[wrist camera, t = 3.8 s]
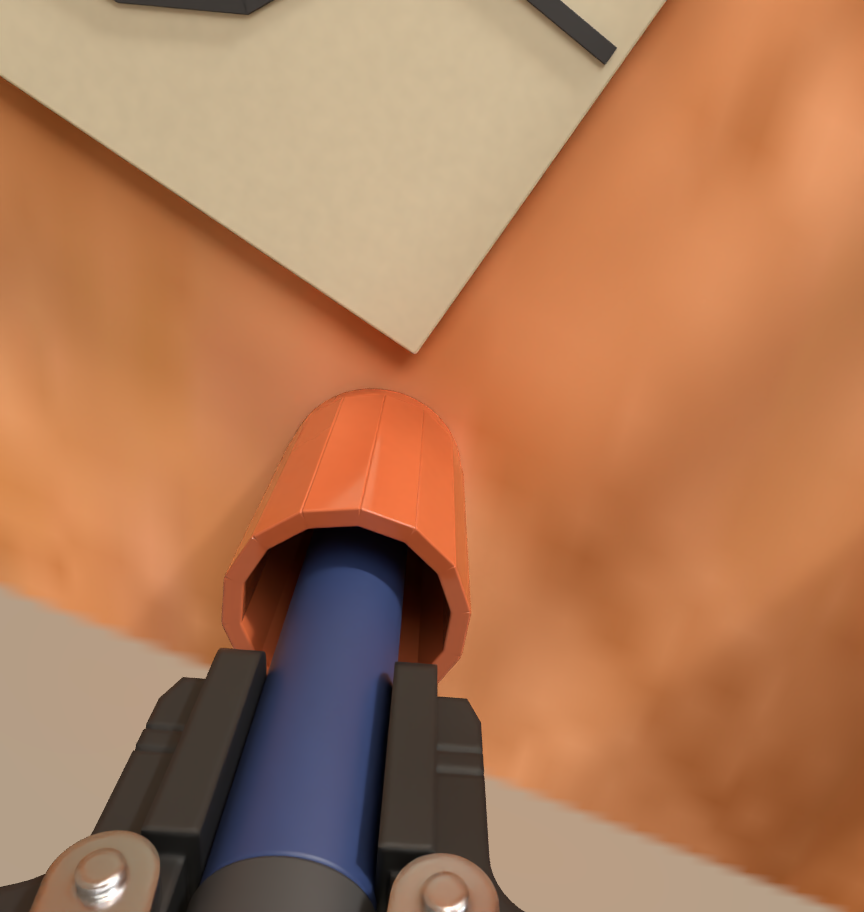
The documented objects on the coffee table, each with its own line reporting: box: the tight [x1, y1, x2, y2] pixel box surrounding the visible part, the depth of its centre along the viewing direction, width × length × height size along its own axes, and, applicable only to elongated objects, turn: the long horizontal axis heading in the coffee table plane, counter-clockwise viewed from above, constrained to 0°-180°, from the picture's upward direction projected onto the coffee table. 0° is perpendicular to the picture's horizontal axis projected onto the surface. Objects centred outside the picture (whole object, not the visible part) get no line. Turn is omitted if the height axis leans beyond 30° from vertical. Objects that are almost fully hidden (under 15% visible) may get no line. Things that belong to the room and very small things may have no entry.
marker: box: [186, 526, 408, 912], centre depth 14 cm, size 2×2×14 cm
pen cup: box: [222, 389, 471, 684], centre depth 18 cm, size 5×5×7 cm
